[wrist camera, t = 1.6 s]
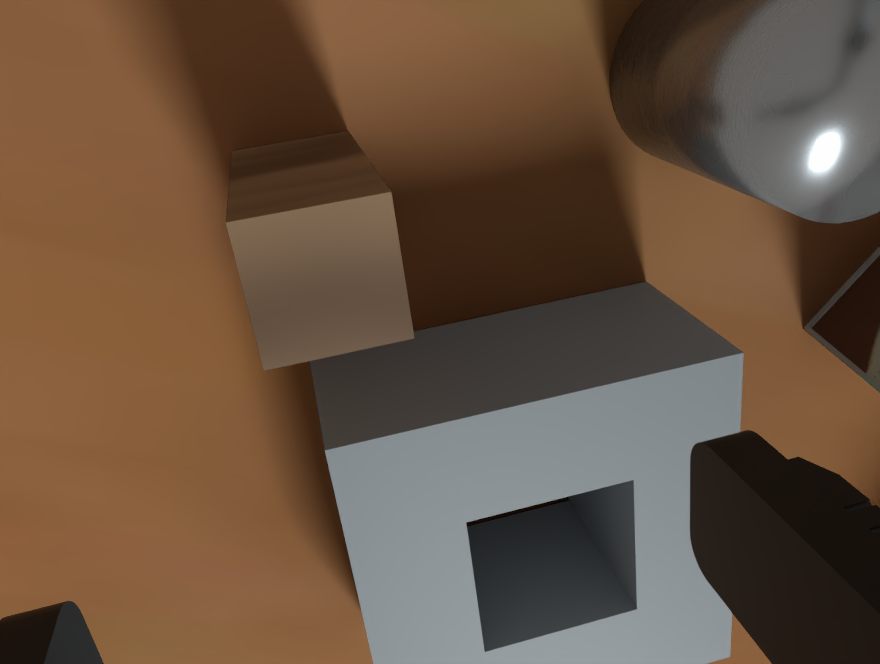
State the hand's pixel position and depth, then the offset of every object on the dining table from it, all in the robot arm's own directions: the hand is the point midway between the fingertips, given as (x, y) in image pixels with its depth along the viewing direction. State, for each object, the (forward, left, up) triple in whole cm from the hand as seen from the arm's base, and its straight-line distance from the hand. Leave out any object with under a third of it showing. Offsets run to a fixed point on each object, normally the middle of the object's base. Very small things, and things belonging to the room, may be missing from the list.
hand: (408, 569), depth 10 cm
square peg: (0, 0, -20) cm, 20 cm away
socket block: (+13, +6, -20) cm, 24 cm away
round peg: (-2, +15, -20) cm, 25 cm away
